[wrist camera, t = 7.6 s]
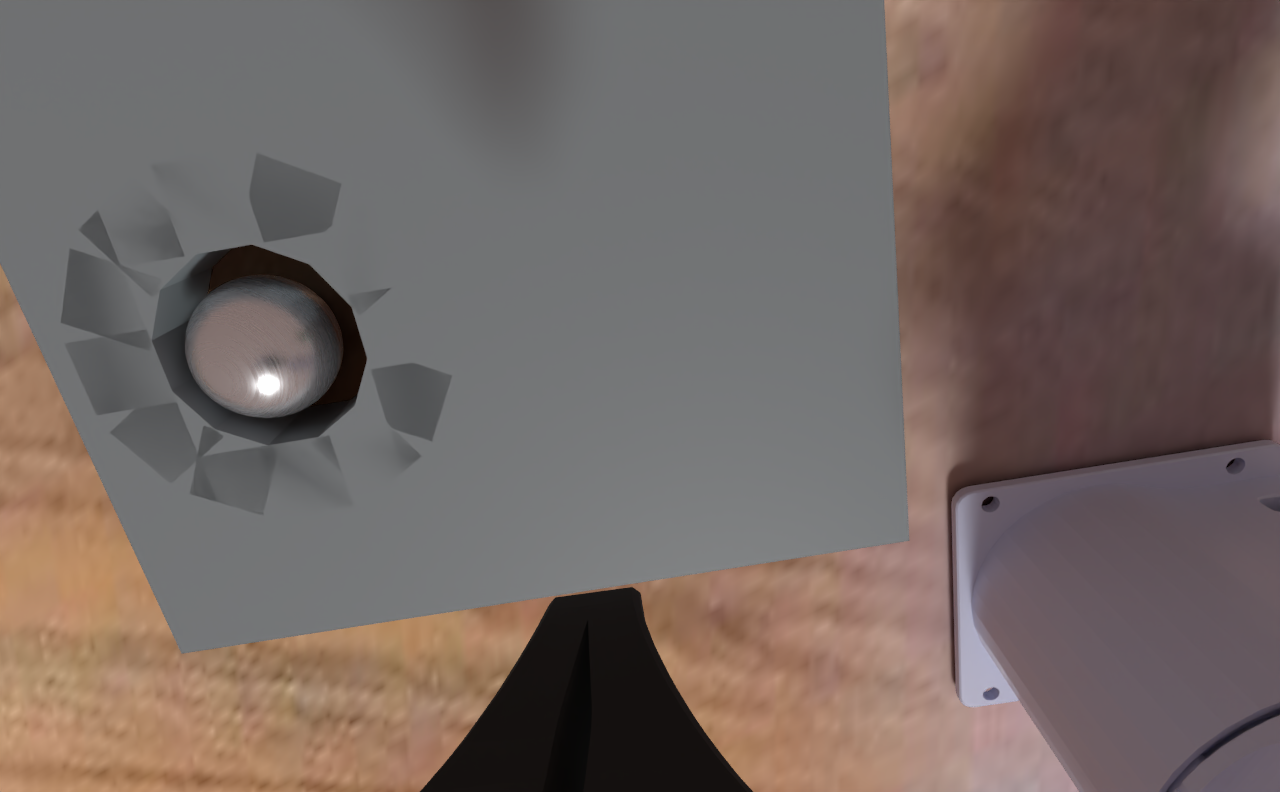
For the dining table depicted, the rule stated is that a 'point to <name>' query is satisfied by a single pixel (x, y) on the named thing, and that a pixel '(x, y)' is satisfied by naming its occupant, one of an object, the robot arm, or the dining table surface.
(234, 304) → the ball
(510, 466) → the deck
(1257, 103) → the dining table surface
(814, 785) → the dining table surface
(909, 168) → the dining table surface
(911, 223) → the dining table surface
